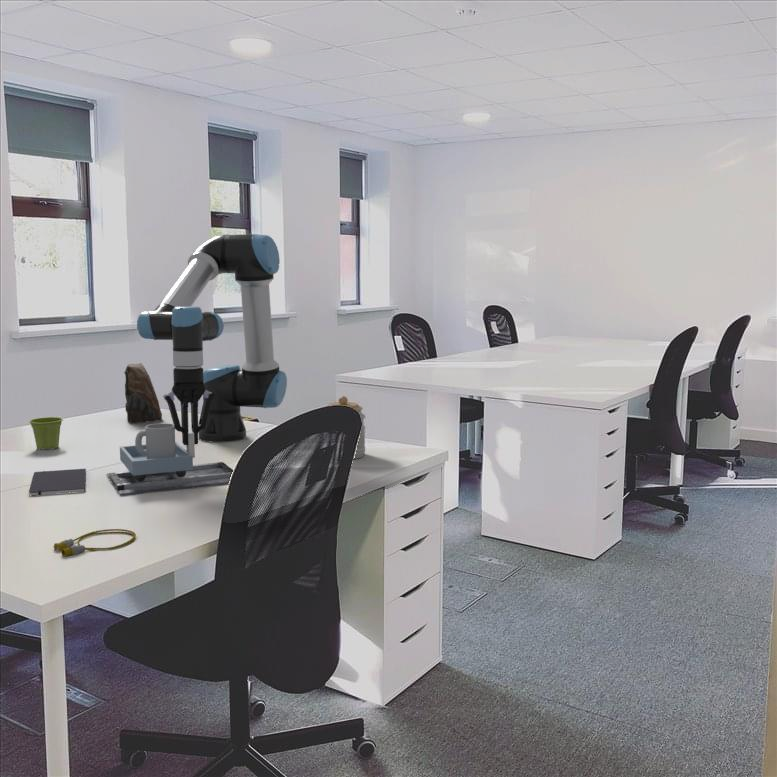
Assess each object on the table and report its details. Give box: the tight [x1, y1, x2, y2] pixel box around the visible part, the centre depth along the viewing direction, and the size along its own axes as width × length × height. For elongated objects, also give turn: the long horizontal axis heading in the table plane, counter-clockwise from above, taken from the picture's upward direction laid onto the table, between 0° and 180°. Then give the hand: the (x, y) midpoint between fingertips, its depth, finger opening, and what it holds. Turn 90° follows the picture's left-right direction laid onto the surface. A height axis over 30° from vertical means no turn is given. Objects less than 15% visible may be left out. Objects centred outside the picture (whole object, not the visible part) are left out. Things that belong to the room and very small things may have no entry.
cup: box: [134, 422, 176, 459], centre depth 214 cm, size 7×10×9 cm
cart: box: [119, 441, 194, 482], centre depth 214 cm, size 15×19×6 cm
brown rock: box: [123, 362, 163, 424], centre depth 300 cm, size 13×13×20 cm
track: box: [106, 461, 234, 497], centre depth 216 cm, size 30×22×2 cm
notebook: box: [28, 468, 87, 496], centre depth 211 cm, size 13×2×21 cm
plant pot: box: [28, 416, 64, 451], centre depth 252 cm, size 9×9×9 cm
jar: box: [326, 395, 366, 460], centre depth 244 cm, size 13×13×18 cm
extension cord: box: [53, 528, 137, 558], centre depth 166 cm, size 12×16×2 cm
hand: (190, 456), depth 218 cm, fingers closed
